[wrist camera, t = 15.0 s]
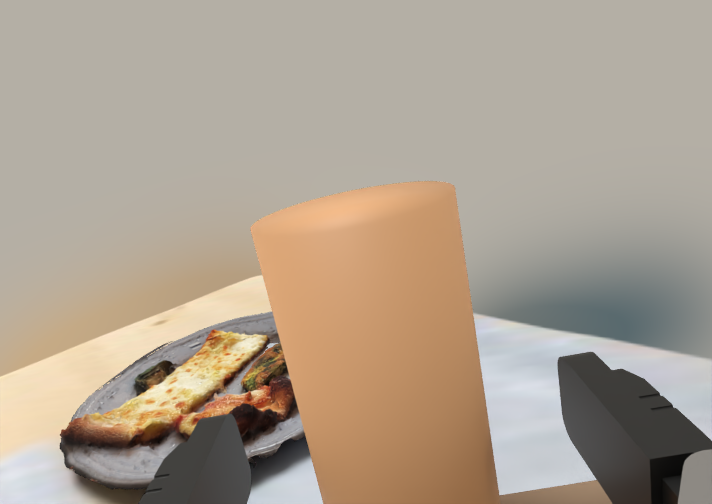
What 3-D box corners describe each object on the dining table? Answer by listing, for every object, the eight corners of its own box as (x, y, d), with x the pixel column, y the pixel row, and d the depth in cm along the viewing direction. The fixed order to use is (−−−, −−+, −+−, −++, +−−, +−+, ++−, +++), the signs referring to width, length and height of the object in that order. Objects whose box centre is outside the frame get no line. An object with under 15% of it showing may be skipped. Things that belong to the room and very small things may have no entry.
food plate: (252, 549, 24) (234, 490, 23) (2, 479, 35) (-17, 437, 34) (411, 331, 45) (404, 296, 45) (226, 329, 56) (218, 301, 55)
